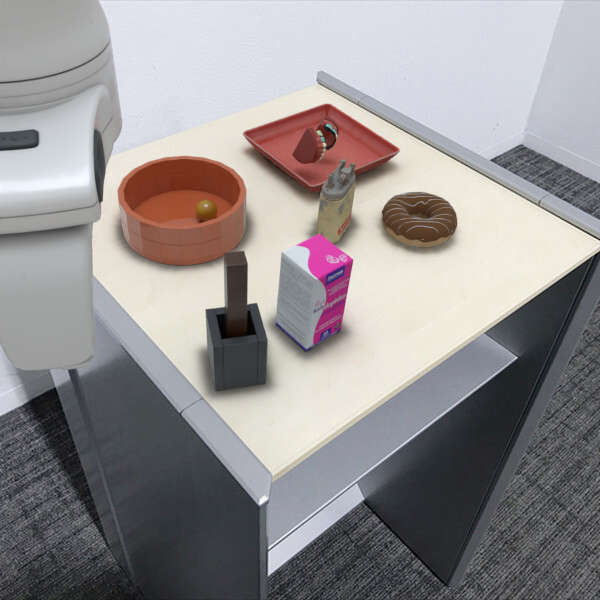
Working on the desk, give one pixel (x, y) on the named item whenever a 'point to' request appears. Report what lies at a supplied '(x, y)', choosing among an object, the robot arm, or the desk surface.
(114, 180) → the desk surface
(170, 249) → the bowl
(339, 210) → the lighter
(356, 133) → the red square tray
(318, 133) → the dental model
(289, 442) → the desk surface
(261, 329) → the holder
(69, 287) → the robot arm
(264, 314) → the desk surface
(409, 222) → the donut
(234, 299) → the stick
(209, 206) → the bead
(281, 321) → the supplement box
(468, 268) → the desk surface
